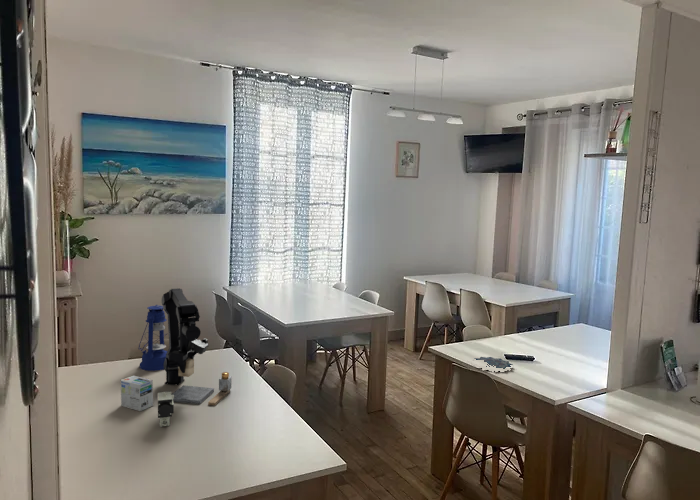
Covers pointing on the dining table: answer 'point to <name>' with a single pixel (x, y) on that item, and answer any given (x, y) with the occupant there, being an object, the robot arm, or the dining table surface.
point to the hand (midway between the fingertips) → (186, 370)
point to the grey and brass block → (225, 382)
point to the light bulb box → (136, 393)
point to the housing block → (188, 368)
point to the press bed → (197, 395)
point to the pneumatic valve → (165, 407)
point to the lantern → (155, 353)
